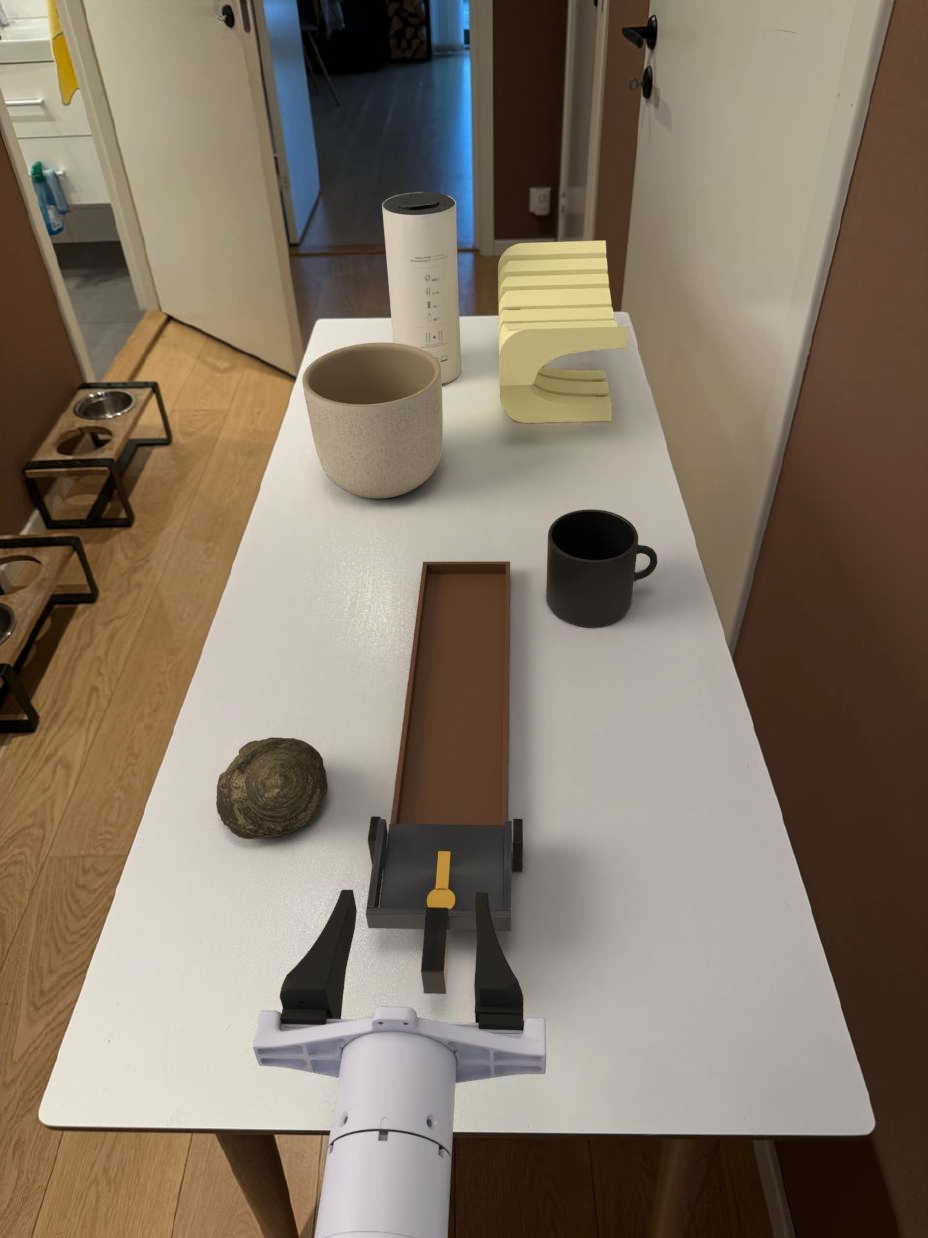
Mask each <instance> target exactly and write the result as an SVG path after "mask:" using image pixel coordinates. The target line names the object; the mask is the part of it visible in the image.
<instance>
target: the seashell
mask: <svg viewBox="0 0 928 1238" xmlns="http://www.w3.org/2000/svg"><path fill="white" fill-rule="evenodd" d="M225 716H227V715H225ZM327 778H328V777H327V771H326V769H325V766H324V759H323V757H322V755H321V753H320V752H319V751H318V750H317V749H316V748H314V747H313V746H312V745H311V744H310V743H308V742H306V741H304V740H302V739H297V738H294V737H274V736H273V737H267V738H264V739H260V740H252V741H248V742H246V743H245V744H244V745H242V746H241V747H240V748H239V749H238V754H237V755H236V756H235V758H234V759H233V760H232V761H231V763H229V765H228V766H227V768H226V769H225V770H224V771H223V772H222V773H220V774H219V776H218V779H217V784H216V801H215V805H216V810H217V811H216V812H217V814H218V815H219V817H220V820H221V822H222V823H223V825H224V826H225V827H227V828H228V830H230V832H231V833H232V834H234V835H235V836H237V838H241V839H243V840H255V839H261V838H272V837H274V838H275V837H278V836H279V837H280V836H282V835H285V834H288V833H292V832H295V831H296V830H297V829H299V828H301V827H304V826H309V825H310V824H311V823H313V822H314V821H315V819H316V817H317V816H318V814H319V812H320V811H321V809H322V807H323V804H324V801H325V800H326V796H327V792H328V788H329V787H328V786H329V784H328V780H327Z"/></svg>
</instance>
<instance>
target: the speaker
mask: <svg viewBox="0 0 928 1238" xmlns="http://www.w3.org/2000/svg"><path fill="white" fill-rule="evenodd" d="M381 208H382V217H383V218H382V221H383V235H384V244H385V255H386V256H385V257H386V270H387V281H388V292H389V304H390V316H391V318H390V320H391V329H392V343H398V344H404V345H409V346H413V347H417V348H419V349H422V350H424V351H426V352H428V353H430V354H431V355H432V356H434V357H435V358H436V359H437V361H438V362H439V364H440V367H441V375H442V386H445V385H447V384H450V383H453V382H454V381H455V380H456V379H458V377H459V376H460V375H461V374H462V371H463V370H462V369H463V368H462V367H463V366H462V347H461V345H462V344H461V326H460V297H459V296H460V295H459V270H458V268H459V267H458V266H459V265H458V230H457V201H456V200H455V199H454V198H453V197H452V196H450V195H447V194H444V193H439V192H429V191H417V192H407V193H402V194H396V195H394V196H391V197H389V198H387V199H385V200H384V201H383V202H382V203H381Z"/></svg>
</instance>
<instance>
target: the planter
mask: <svg viewBox="0 0 928 1238" xmlns="http://www.w3.org/2000/svg"><path fill="white" fill-rule="evenodd" d="M301 379H302V380H301V381H302V389H303V394H304V399H305V404H306V410H307V414H308V420H309V425H310V430H311V434H312V439H313V444H314V448H315V451H316V455H317V458H318V461H319V463H320V467H321V468H322V470H323V471H324V474H325V475H326V476H327V478H328V479H329V480H330V481H331V482H332V483H333V484H334V485H336V486H338V488H340V489H341V490H343V491H346V492H347V493H349V494H352V495H355V496H357V497H362V498H367V499H388V498H395V497H399V496H402V495H405V494H407V493H409V492H411V491H414V490H415V489H417V488H418V487H420V486H421V485H422V484H424V483H425V482H426V481H427V480H429V478H430V477H431V476H432V475H433V474H434V472H435V471H436V468H437V467H438V464H439V462H440V459H441V455H442V450H443V438H444V414H443V413H444V411H443V385H442V375H441V367H440V364H439V362H438V361H437V359H436V358H435V357H434V356H432V355H431V354H430V353H428V352H426V351H424V350H422V349H419V348H417V347H413V346H409V345H404V344H398V343H393V342H366V343H358V344H353V345H348V346H344V347H341V348H338V349H334V350H332V351H329V352H327V353H325V354H323V355H321V356H319V357H318V358H316V359H315V360H314V361H312V362H311V363H310V364H309V365H308V366H307V368H305V370H304V371H303V374H302V378H301Z"/></svg>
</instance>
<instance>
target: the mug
mask: <svg viewBox="0 0 928 1238" xmlns="http://www.w3.org/2000/svg"><path fill="white" fill-rule="evenodd" d="M546 551H547V552H546V554H547V555H546V581H545V583H546V584H545V585H546V586H545V588H546V589H545V600H546V603H547V606H548V608H549V610H551V612H552V613H553V614H554V615H555V616H556V617H557V618H559V619H561V620H562V621H564V622H566V623H568V624H571V625H573V626H574V625H575V626H580V627H586V628H587V627H588V628H595V627H596V628H597V627H604V626H607V625H610V624H613V623H615V622H617V621H619V620H620V619H622V618H623V617H624V616H625V615H626V614H627V613H628V611H629V609H630V608H631V606H632V603H633V601H632V600H633V591H634V583H635V582H637V581H639V580H643V579H646V578H647V577H649V576H650V575H652V574H653V572H654V571H655V570H656V568H657V565H658V555H657V552H656V551H655V550H654V549H653V548H652V547H650V546H648V545H643V544H639V533H638V530H637V529H636V527H635V526H634V525H633V523H632V522H631V521H630V520H628V519H627V518H626V517H623V516H622V515H619V514H617V513H614V512H612V511H608V510H604V509H603V510H602V509H592V508H591V509H589V508H588V509H579V510H574V511H571V512H567V513H565V514H563V515H560V516H559V517H557V518H556V519H555V520H554V521H553V522H552V523H551V525H550V526H549V529H548V532H547V550H546ZM640 554H643V555H646V556H647V557H648V558H649V563H648V565H647V567H645V568H644V569H641V570H640V571H636V566H637V565H636V564H637V556H638V555H640Z"/></svg>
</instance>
